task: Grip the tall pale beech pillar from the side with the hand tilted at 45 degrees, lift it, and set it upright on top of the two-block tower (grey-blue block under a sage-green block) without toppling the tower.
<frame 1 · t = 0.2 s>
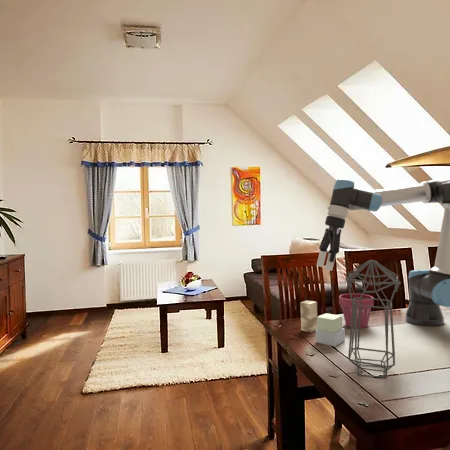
hand: (323, 268, 152), 28 cm above the table, tool tilted 15°, fingers open, 13 cm apart
geometric lantern: (374, 372, 118), on the table
plant pot: (356, 325, 166), on the table
pillar: (309, 329, 162), on the table
tower base: (330, 341, 146), on the table, touching tower top
tower top: (329, 329, 146), point 5 cm above the table, touching tower base
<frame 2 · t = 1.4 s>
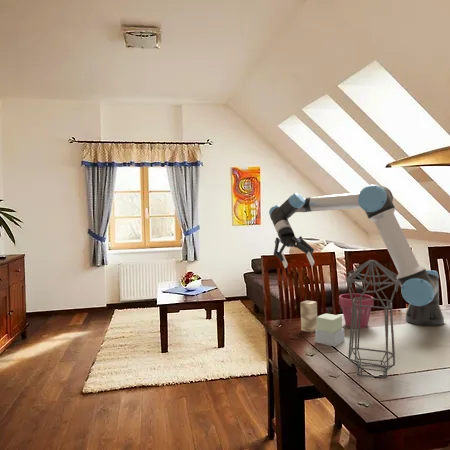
hand: (299, 265, 172), 26 cm above the table, tool tilted 45°, fingers open, 13 cm apart
nothing on the table moved.
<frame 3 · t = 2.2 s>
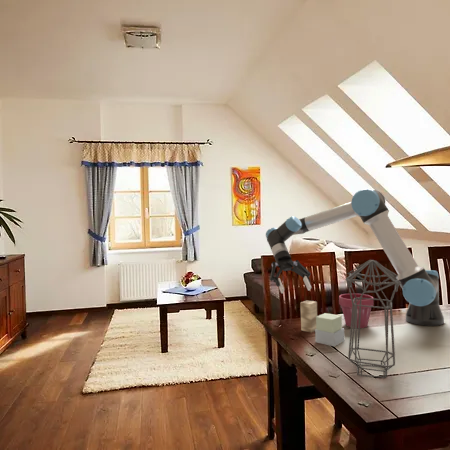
hand: (296, 290, 172), 15 cm above the table, tool tilted 45°, fingers open, 13 cm apart
nothing on the table moved.
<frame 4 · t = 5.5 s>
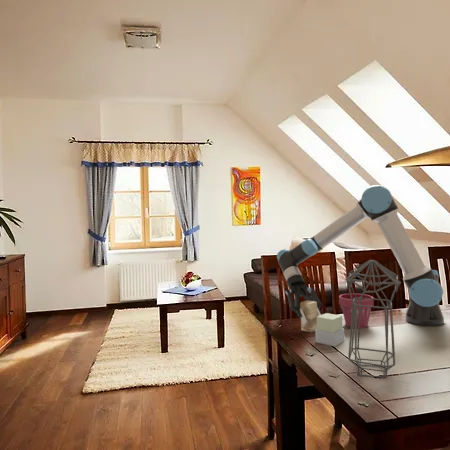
hand: (313, 322, 158), 4 cm above the table, tool tilted 45°, fingers closed on pillar, 7 cm apart
pillar: (309, 329, 162), on the table, touching gripper
tower base: (330, 341, 146), on the table
tower top: (329, 329, 146), point 5 cm above the table
everything else where it was.
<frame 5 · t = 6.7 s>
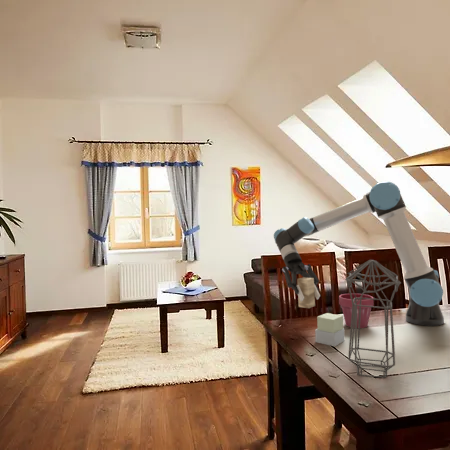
hand: (310, 298, 158), 14 cm above the table, tool tilted 45°, fingers closed on pillar, 7 cm apart
pillar: (306, 306, 162), point 10 cm above the table, touching gripper
tower base: (330, 341, 147), on the table, touching tower top
tower top: (330, 329, 146), point 5 cm above the table, touching tower base
everything else where it was.
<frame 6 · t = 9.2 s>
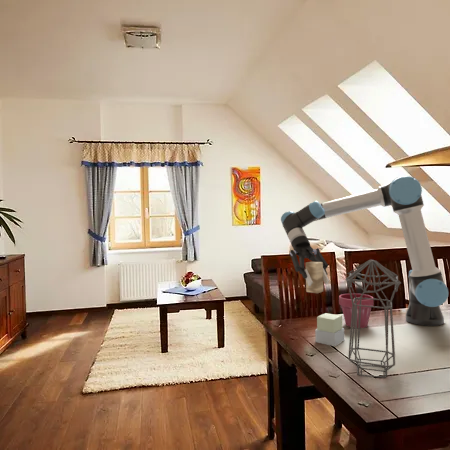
hand: (319, 283, 151), 22 cm above the table, tool tilted 45°, fingers closed on pillar, 7 cm apart
pillar: (314, 291, 155), point 18 cm above the table, touching gripper
everything else where it was.
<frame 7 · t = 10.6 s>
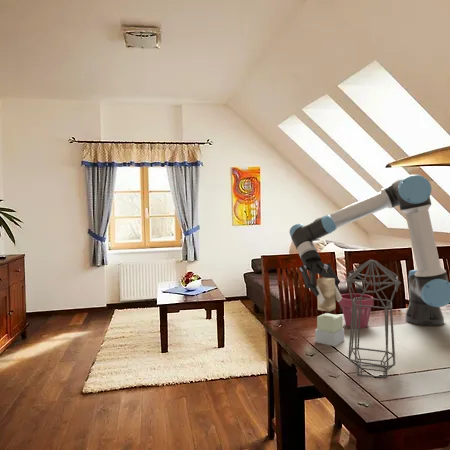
hand: (331, 301, 144), 16 cm above the table, tool tilted 45°, fingers closed on pillar, 7 cm apart
pillar: (326, 309, 147), point 12 cm above the table, touching gripper
everything else where it was.
when the fingers open (15 cm above the table, at t = 11.4 s): pillar drops 2 cm, point 10 cm above the table.
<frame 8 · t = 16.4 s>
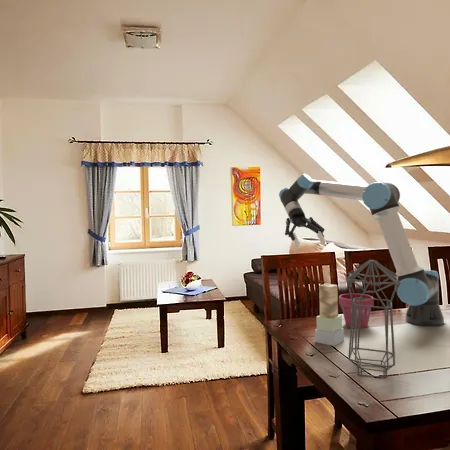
hand: (311, 244, 175), 36 cm above the table, tool tilted 45°, fingers open, 13 cm apart
pillar: (328, 315, 146), point 10 cm above the table
everything else where it was.
at the end: pillar 0.0 cm off-centre on the tower top, point 5.0 cm above the tower top's base; pillar tilted 0°; tower top moved 0.4 cm from its start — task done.
